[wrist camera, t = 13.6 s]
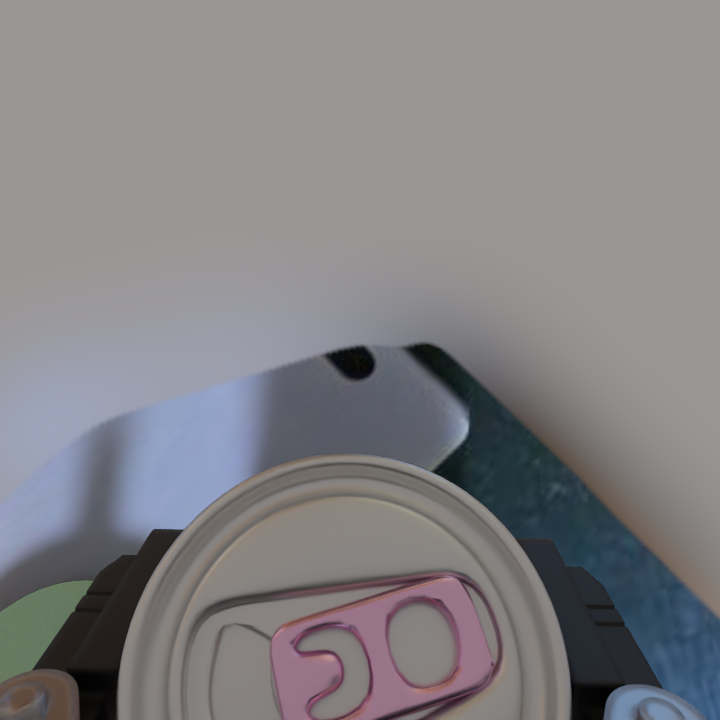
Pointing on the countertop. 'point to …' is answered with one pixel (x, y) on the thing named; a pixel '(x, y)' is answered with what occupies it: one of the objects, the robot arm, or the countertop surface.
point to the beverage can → (345, 606)
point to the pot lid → (35, 625)
